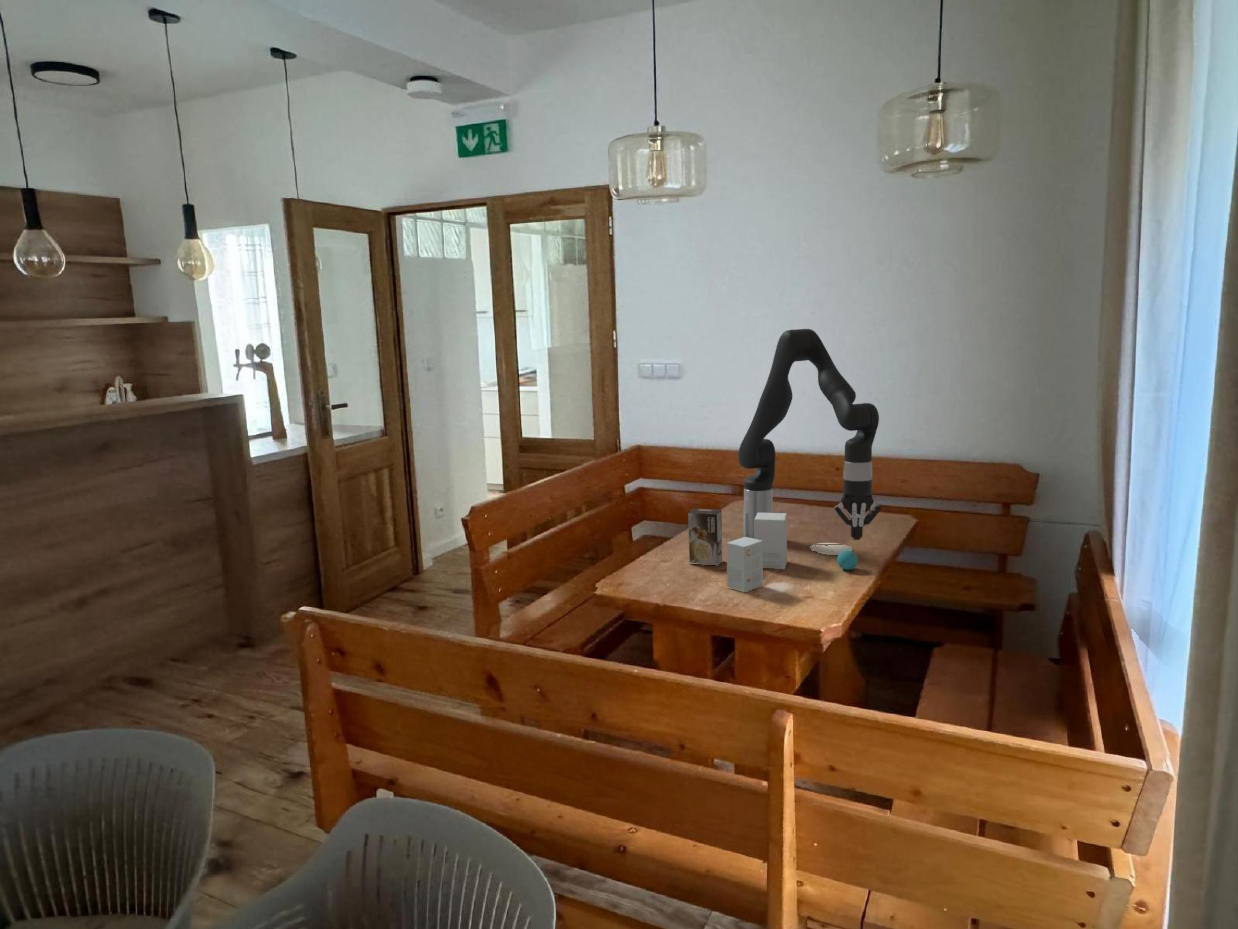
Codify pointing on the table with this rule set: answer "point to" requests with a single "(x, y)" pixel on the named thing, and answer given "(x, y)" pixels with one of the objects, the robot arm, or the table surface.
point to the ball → (847, 560)
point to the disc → (831, 548)
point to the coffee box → (705, 536)
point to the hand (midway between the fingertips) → (856, 539)
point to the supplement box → (772, 538)
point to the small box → (745, 564)
